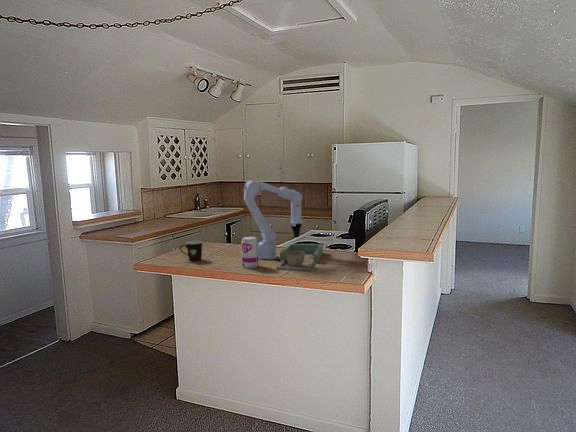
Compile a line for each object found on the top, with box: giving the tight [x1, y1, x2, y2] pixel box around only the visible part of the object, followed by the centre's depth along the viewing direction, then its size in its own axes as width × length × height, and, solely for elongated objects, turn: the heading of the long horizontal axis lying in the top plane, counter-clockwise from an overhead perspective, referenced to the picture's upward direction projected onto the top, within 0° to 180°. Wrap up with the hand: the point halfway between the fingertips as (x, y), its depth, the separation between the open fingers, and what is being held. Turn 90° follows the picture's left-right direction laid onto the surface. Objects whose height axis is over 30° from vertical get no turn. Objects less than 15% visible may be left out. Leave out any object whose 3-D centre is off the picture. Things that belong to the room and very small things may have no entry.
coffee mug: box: [179, 240, 203, 263], centre depth 235 cm, size 12×9×10 cm
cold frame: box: [279, 243, 324, 264], centre depth 235 cm, size 20×23×5 cm
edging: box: [276, 259, 315, 272], centre depth 217 cm, size 16×14×1 cm
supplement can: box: [240, 236, 259, 269], centre depth 218 cm, size 8×8×15 cm
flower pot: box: [286, 251, 306, 267], centre depth 217 cm, size 10×10×7 cm
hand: (296, 236), depth 240 cm, fingers closed
